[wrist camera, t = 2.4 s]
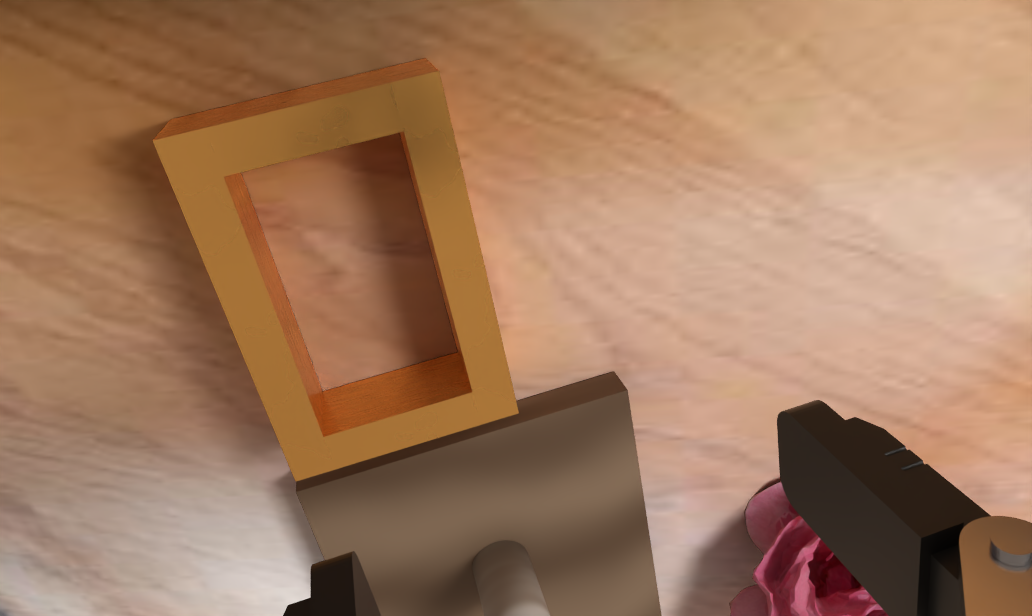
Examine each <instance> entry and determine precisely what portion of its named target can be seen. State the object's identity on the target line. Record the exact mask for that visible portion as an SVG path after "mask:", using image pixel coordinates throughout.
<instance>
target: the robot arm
mask: <svg viewBox="0 0 1032 616" xmlns="http://www.w3.org/2000/svg"><path fill="white" fill-rule="evenodd" d="M777 429H778V448H779V467H780V479H781V483H782V487H783V490H784V492H785V494H786V497H787V499H788V500H789V502H790V504H791V505H792V507H793V508H794V509H795V511H796V512H797V513H798V514H799V515H800V516H801V517H802V518H803V520H804V521H805V522H806V523H807V524H808V525H809V526H810V527H811V529H812V530H813V531H814V532H815V533H816V534H817V535H818V537H819V538H820V539H821V540H822V541H823V542H824V543H825V544H826V546H827V547H828V548H829V549H830V550H831V551H832V552H833V553H834V555H835V556H836V557H837V558H838V559H839V560H840V561H841V562H842V564H843V565H844V566H845V567H846V568H847V569H848V570H849V572H850V573H851V574H852V575H853V576H854V577H855V578H856V579H857V581H858V582H859V583H860V584H861V585H862V586H863V587H864V588H865V590H866V591H867V592H868V593H869V594H870V595H871V596H872V598H873V599H874V600H875V601H876V602H877V603H878V604H879V605H880V607H881V608H882V609H883V610H884V611H885V612H886V613H887V614H888V616H1032V523H1030V522H1027V521H1025V520H1021V519H1017V518H1012V517H1005V516H990V515H989V514H988V513H987V512H985V511H984V510H983V509H982V508H981V507H979V506H978V505H977V504H976V503H974V502H973V501H972V500H971V499H970V498H968V497H967V496H966V495H965V494H963V493H962V492H961V491H960V490H958V489H957V488H956V487H955V486H954V485H952V484H951V483H950V482H949V481H947V480H946V479H945V478H944V477H942V476H941V475H940V474H939V473H938V472H936V471H935V470H934V469H933V468H931V467H930V466H929V465H928V464H924V463H923V460H922V459H920V458H919V457H918V456H917V455H915V454H914V453H913V452H912V451H910V450H906V448H905V446H904V445H903V444H902V443H901V442H899V441H898V440H897V439H896V438H895V437H893V436H892V435H891V434H890V433H888V432H887V431H886V430H885V429H883V428H881V427H878V426H876V425H873V424H871V423H868V422H866V421H864V420H861V419H859V418H856V417H854V418H851V419H848V420H844V419H843V418H842V417H841V416H840V415H838V414H837V413H836V412H835V411H834V410H833V409H831V408H830V407H829V406H828V405H827V404H825V403H824V402H822V401H820V400H816V401H812V402H809V403H806V404H803V405H800V406H797V407H794V408H791V409H788V410H785V411H782V412H780V413H779V415H778V418H777ZM283 616H381V614H380V611H379V609H378V606H377V604H376V601H375V599H374V596H373V594H372V591H371V589H370V586H369V584H368V581H367V579H366V576H365V574H364V571H363V569H362V566H361V563H360V561H359V559H358V556H357V554H356V553H355V552H354V551H352V552H349V553H346V554H343V555H340V556H337V557H334V558H331V559H328V560H325V561H322V562H319V563H316V564H313V565H312V566H311V598H308V599H305V600H302V601H299V602H296V603H293V604H290V605H288V606H287V608H286V611H285V613H284V615H283Z"/></svg>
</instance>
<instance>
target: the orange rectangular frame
mask: <svg viewBox="0 0 1032 616" xmlns="http://www.w3.org/2000/svg"><path fill="white" fill-rule="evenodd" d="M395 133H400V137H401V141H402V144H403V148H404V152H405V156H406V159H407V163H408V167H409V171H410V174H411V178H412V182H413V186H414V189H415V193H416V197H417V201H418V204H419V208H420V212H421V216H422V219H423V223H424V227H425V231H426V234H427V238H428V242H429V246H430V249H431V253H432V257H433V261H434V264H435V268H436V272H437V276H438V279H439V283H440V287H441V291H442V294H443V298H444V302H445V306H446V309H447V313H448V317H449V321H450V324H451V328H452V332H453V336H454V339H455V343H456V347H457V351H458V352H456V353H453V354H449V355H446V356H443V357H439V358H436V359H432V360H429V361H425V362H422V363H419V364H415V365H412V366H408V367H405V368H402V369H398V370H395V371H391V372H388V373H384V374H381V375H378V376H374V377H371V378H367V379H364V380H361V381H357V382H354V383H350V384H347V385H343V386H340V387H337V388H333V389H330V390H326V391H323V392H322V389H321V386H320V384H319V381H318V378H317V376H316V373H315V370H314V368H313V365H312V362H311V359H310V357H309V354H308V351H307V349H306V346H305V343H304V341H303V338H302V335H301V333H300V330H299V327H298V325H297V322H296V319H295V317H294V314H293V311H292V308H291V306H290V303H289V300H288V298H287V295H286V292H285V290H284V287H283V284H282V282H281V279H280V276H279V274H278V271H277V268H276V266H275V263H274V260H273V258H272V255H271V252H270V249H269V247H268V244H267V241H266V239H265V236H264V233H263V231H262V228H261V225H260V223H259V220H258V217H257V215H256V212H255V209H254V207H253V204H252V201H251V199H250V196H249V193H248V190H247V188H246V185H245V182H244V180H243V177H242V174H241V172H245V171H249V170H253V169H257V168H260V167H264V166H268V165H272V164H276V163H280V162H284V161H288V160H292V159H296V158H300V157H304V156H308V155H312V154H316V153H320V152H324V151H328V150H332V149H336V148H340V147H344V146H348V145H352V144H356V143H360V142H364V141H367V140H371V139H375V138H379V137H383V136H387V135H391V134H395ZM153 143H154V146H155V148H156V150H157V153H158V155H159V157H160V160H161V162H162V165H163V167H164V169H165V172H166V174H167V177H168V179H169V181H170V184H171V186H172V188H173V191H174V193H175V196H176V198H177V200H178V203H179V205H180V207H181V210H182V212H183V215H184V217H185V219H186V222H187V224H188V227H189V229H190V231H191V234H192V236H193V238H194V241H195V243H196V246H197V248H198V250H199V253H200V255H201V257H202V260H203V262H204V265H205V267H206V269H207V272H208V274H209V277H210V279H211V281H212V284H213V286H214V288H215V291H216V293H217V296H218V298H219V300H220V303H221V305H222V308H223V310H224V312H225V315H226V317H227V319H228V322H229V324H230V327H231V329H232V331H233V334H234V336H235V338H236V341H237V343H238V346H239V348H240V350H241V353H242V355H243V358H244V360H245V362H246V365H247V367H248V369H249V372H250V374H251V377H252V379H253V381H254V384H255V386H256V388H257V391H258V393H259V396H260V398H261V400H262V403H263V405H264V408H265V410H266V412H267V415H268V417H269V419H270V422H271V424H272V427H273V429H274V431H275V434H276V436H277V438H278V441H279V443H280V446H281V448H282V450H283V453H284V455H285V458H286V460H287V462H288V465H289V467H290V469H291V472H292V474H293V477H294V479H295V481H299V480H303V479H306V478H309V477H312V476H316V475H319V474H322V473H326V472H329V471H332V470H335V469H339V468H342V467H345V466H348V465H352V464H355V463H358V462H361V461H365V460H368V459H371V458H374V457H378V456H381V455H384V454H388V453H391V452H394V451H397V450H401V449H404V448H407V447H410V446H414V445H417V444H420V443H423V442H427V441H430V440H433V439H436V438H440V437H443V436H446V435H450V434H453V433H456V432H459V431H463V430H466V429H469V428H472V427H476V426H479V425H482V424H485V423H489V422H492V421H495V420H498V419H502V418H505V417H508V416H512V415H515V414H518V413H519V411H518V407H517V403H516V398H515V394H514V390H513V385H512V381H511V377H510V373H509V368H508V364H507V360H506V355H505V351H504V347H503V343H502V338H501V334H500V330H499V325H498V321H497V317H496V313H495V308H494V304H493V300H492V295H491V291H490V287H489V283H488V278H487V274H486V270H485V265H484V261H483V257H482V253H481V248H480V244H479V240H478V235H477V231H476V227H475V223H474V218H473V214H472V210H471V205H470V201H469V197H468V193H467V188H466V184H465V180H464V175H463V171H462V167H461V163H460V158H459V154H458V150H457V145H456V141H455V137H454V133H453V128H452V124H451V120H450V115H449V111H448V107H447V103H446V98H445V94H444V90H443V85H442V81H441V77H440V73H439V70H438V69H436V68H435V67H434V66H433V65H432V64H431V63H430V62H429V61H428V60H427V59H426V58H423V59H419V60H415V61H411V62H407V63H403V64H398V65H394V66H390V67H386V68H382V69H378V70H374V71H369V72H365V73H361V74H357V75H353V76H349V77H344V78H340V79H336V80H332V81H328V82H324V83H320V84H315V85H311V86H307V87H303V88H299V89H295V90H290V91H286V92H282V93H278V94H274V95H270V96H266V97H261V98H257V99H253V100H249V101H245V102H241V103H236V104H232V105H228V106H224V107H220V108H216V109H212V110H207V111H203V112H199V113H195V114H191V115H187V116H182V117H178V118H174V119H171V120H170V121H169V122H168V123H167V124H166V125H165V127H164V128H163V129H162V130H161V131H160V132H159V134H158V135H157V136H156V137H155V138H154V140H153Z"/></svg>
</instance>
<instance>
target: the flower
mask: <svg viewBox="0 0 1032 616" xmlns="http://www.w3.org/2000/svg"><path fill="white" fill-rule="evenodd" d="M745 516H746V525H747V531H748V534H749V536H750V538H751V540H752V541H753V543H754V544H755V545H756V546H757V547H758V548H759V549H760V551H761V552H762V553H763V554H764V557H763V560H762V561H761V562H760V564H759V565H758V566H757V567H756V568H755V569H754V573H753V579H754V581H755V582H756V583H757V584H758V585H754V586H750V587H747V588H745V589H743V590H741V592H740V593H739V594H738V595H737V596H736V597H735V598H734V599H733V600H732V601H731V602H730V603H729V604H730V608H731V616H888V614H887V613H886V612H885V611H884V610H883V609H882V608H881V607H880V605H879V604H878V603H877V602H876V601H875V600H874V599H873V598H872V596H871V595H870V594H869V593H868V592H867V591H866V590H865V588H864V587H863V586H862V585H861V584H860V583H859V582H858V581H857V579H856V578H855V577H854V576H853V575H852V574H851V573H850V572H849V570H848V569H847V568H846V567H845V566H844V565H843V564H842V562H841V561H840V560H839V559H838V558H837V557H836V556H835V555H834V553H833V552H832V551H831V550H830V549H829V548H828V547H827V546H826V544H825V543H824V542H823V541H822V540H821V539H820V538H819V537H818V535H817V534H816V533H815V532H814V531H813V530H812V529H811V527H810V526H809V525H808V524H807V523H806V522H805V521H804V520H803V518H802V517H801V516H800V515H799V514H798V513H797V512H796V511H795V509H794V508H793V507H792V505H791V504H790V502H789V500H788V499H787V497H786V494H785V492H784V490H783V487H782V483H781V482H779V483H777V484H775V485H773V486H771V487H769V488H767V489H765V490H763V491H761V492H759V493H757V494H756V495H754V496H753V497H752V498H751V500H750V501H749V503H748V506H747V508H746V511H745Z"/></svg>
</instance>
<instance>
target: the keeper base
mask: <svg viewBox="0 0 1032 616" xmlns="http://www.w3.org/2000/svg"><path fill="white" fill-rule="evenodd" d="M516 403H517V407H518V411H519V413H518V414H515V415H512V416H508V417H505V418H502V419H498V420H495V421H492V422H489V423H485V424H482V425H479V426H476V427H472V428H469V429H466V430H463V431H459V432H456V433H453V434H450V435H446V436H443V437H440V438H436V439H433V440H430V441H427V442H423V443H420V444H417V445H414V446H410V447H407V448H404V449H401V450H397V451H394V452H391V453H388V454H384V455H381V456H378V457H374V458H371V459H368V460H365V461H361V462H358V463H355V464H352V465H348V466H345V467H342V468H339V469H335V470H332V471H329V472H326V473H322V474H319V475H316V476H312V477H309V478H306V479H303V480H299V481H296V493H297V496H298V498H299V500H300V503H301V505H302V507H303V510H304V512H305V514H306V517H307V519H308V522H309V524H310V526H311V529H312V531H313V533H314V536H315V538H316V540H317V543H318V545H319V548H320V550H321V552H322V555H323V557H324V559H325V560H328V559H331V558H334V557H337V556H340V555H343V554H346V553H349V552H352V551H354V552H355V553H356V554H357V556H358V559H359V561H360V563H361V566H362V569H363V571H364V574H365V576H366V579H367V581H368V584H369V586H370V589H371V591H372V594H373V596H374V599H375V601H376V604H377V606H378V609H379V611H380V614H381V616H661V609H660V603H659V596H658V590H657V583H656V576H655V570H654V563H653V556H652V550H651V543H650V536H649V530H648V523H647V516H646V510H645V503H644V496H643V490H642V483H641V476H640V470H639V463H638V457H637V450H636V443H635V437H634V430H633V423H632V417H631V410H630V403H629V397H628V390H627V389H626V387H625V386H624V385H623V383H622V382H621V380H620V379H619V378H618V376H617V375H616V373H615V372H610V373H607V374H604V375H601V376H597V377H594V378H591V379H587V380H584V381H581V382H578V383H574V384H571V385H568V386H564V387H561V388H558V389H555V390H551V391H548V392H545V393H541V394H538V395H535V396H532V397H528V398H525V399H522V400H518V401H516Z"/></svg>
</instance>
